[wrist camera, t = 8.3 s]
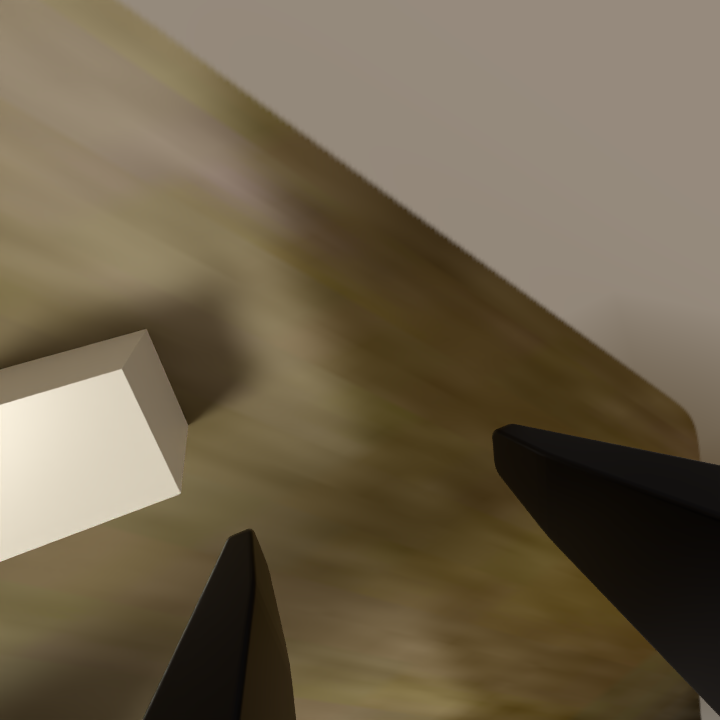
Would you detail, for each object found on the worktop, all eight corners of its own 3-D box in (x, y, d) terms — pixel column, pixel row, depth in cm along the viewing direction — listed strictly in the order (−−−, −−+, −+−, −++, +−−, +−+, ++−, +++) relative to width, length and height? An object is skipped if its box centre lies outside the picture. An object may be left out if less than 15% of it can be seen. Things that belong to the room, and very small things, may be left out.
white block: (188, 424, 17) (180, 493, 13) (-4, 489, 16) (-89, 594, 11) (146, 328, 16) (121, 369, 11) (-73, 388, 14) (-205, 465, 10)
